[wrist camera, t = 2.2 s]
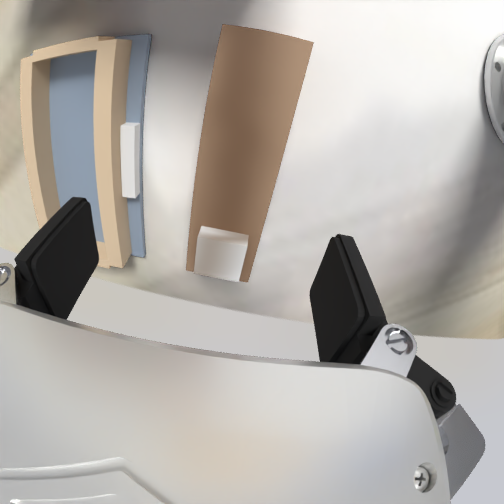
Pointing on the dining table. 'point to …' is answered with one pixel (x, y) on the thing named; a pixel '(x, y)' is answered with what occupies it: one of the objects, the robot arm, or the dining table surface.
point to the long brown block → (242, 146)
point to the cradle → (89, 135)
